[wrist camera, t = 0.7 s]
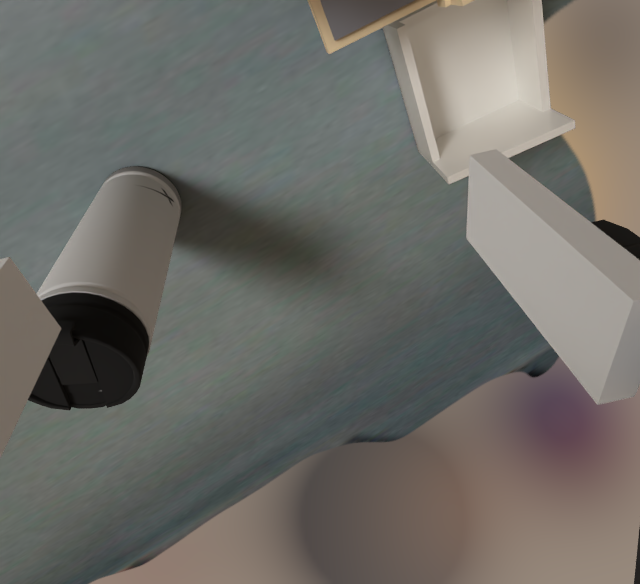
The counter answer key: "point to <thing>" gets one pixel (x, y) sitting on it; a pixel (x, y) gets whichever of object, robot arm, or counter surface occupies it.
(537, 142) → the white open box
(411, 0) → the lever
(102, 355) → the travel mug
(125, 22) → the counter surface
